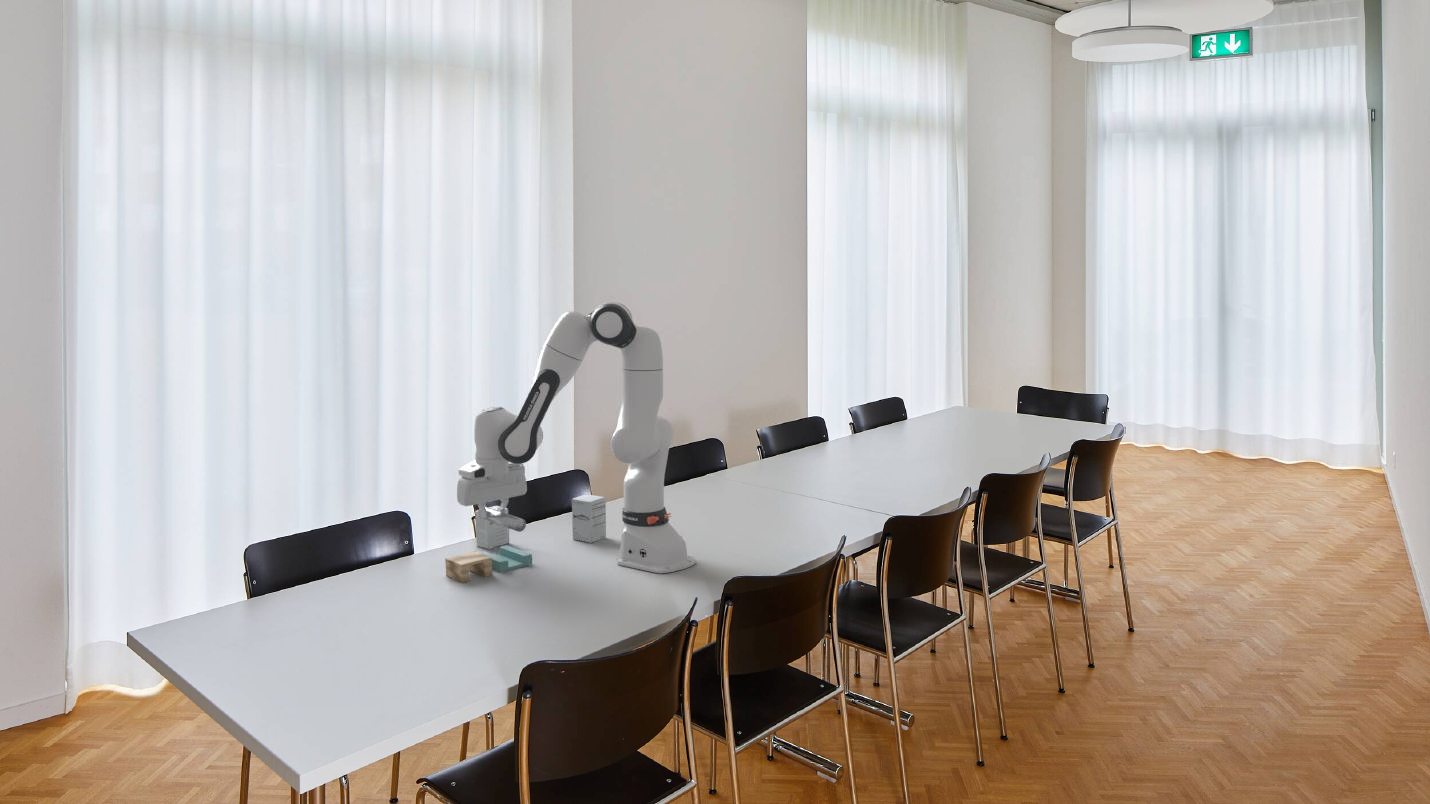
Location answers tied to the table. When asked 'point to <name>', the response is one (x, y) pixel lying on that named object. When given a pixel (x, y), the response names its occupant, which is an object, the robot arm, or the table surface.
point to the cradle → (509, 558)
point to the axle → (504, 519)
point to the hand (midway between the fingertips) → (493, 516)
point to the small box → (490, 532)
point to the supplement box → (589, 518)
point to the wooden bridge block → (468, 565)
